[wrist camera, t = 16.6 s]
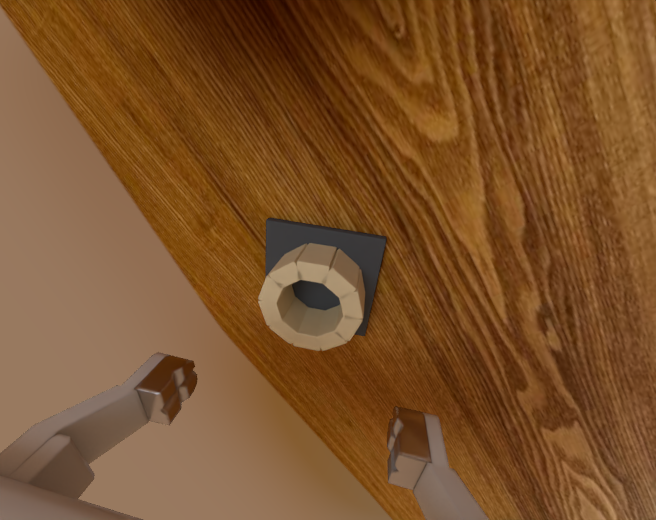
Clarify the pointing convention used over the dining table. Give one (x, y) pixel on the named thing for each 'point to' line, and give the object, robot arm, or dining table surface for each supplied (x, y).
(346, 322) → the tape roll
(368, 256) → the mat
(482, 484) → the dining table surface
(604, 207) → the dining table surface
